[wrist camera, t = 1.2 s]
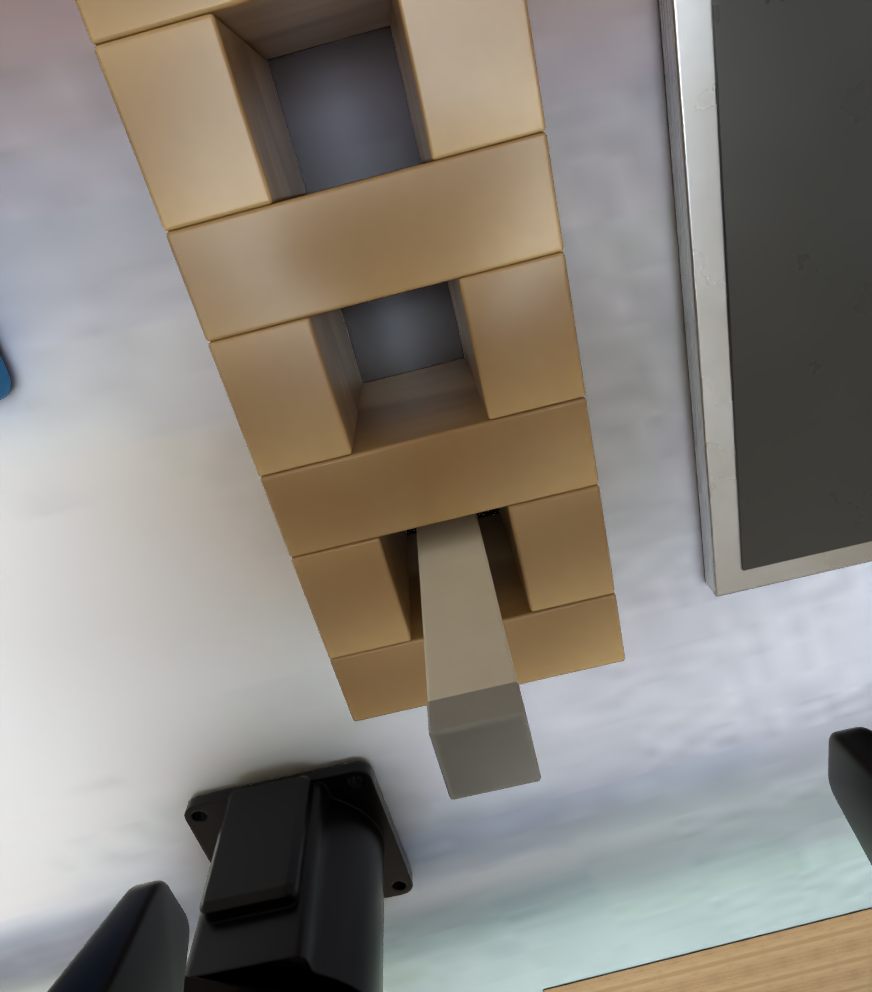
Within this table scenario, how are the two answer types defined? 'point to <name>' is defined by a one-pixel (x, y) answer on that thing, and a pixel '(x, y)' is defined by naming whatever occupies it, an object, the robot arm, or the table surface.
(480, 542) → the grey square stick
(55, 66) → the table surface
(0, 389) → the handheld gaming device
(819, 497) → the tablet
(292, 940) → the robot arm
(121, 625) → the table surface
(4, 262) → the table surface
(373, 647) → the pen stand
